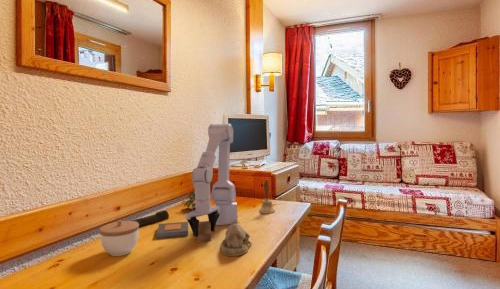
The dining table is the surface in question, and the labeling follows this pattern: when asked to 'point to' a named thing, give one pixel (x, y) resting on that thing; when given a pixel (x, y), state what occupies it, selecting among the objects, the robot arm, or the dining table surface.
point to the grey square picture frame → (172, 230)
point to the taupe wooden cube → (204, 231)
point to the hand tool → (153, 218)
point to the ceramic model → (235, 240)
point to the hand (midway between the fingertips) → (203, 233)
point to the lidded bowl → (119, 237)
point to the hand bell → (267, 201)
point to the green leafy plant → (190, 201)
